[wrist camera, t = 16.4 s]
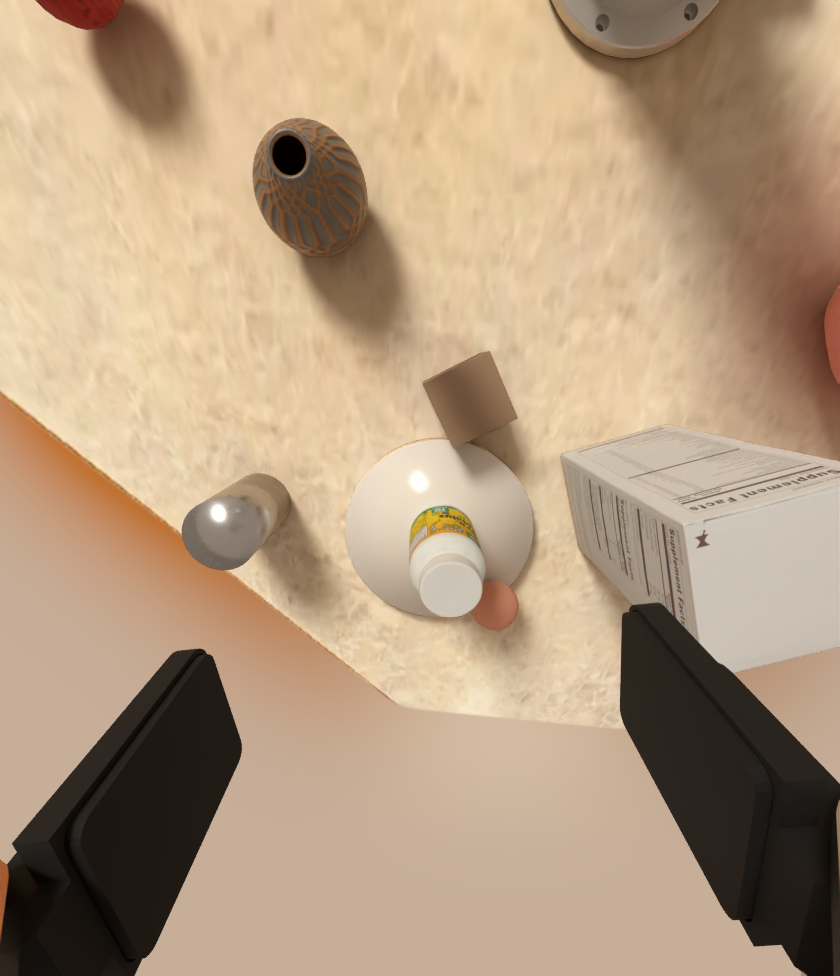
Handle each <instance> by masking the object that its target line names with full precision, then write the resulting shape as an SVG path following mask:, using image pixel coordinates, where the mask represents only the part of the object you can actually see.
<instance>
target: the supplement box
mask: <svg viewBox="0 0 840 976" xmlns="http://www.w3.org/2000/svg"><path fill="white" fill-rule="evenodd" d="M560 457H561V463H562V468H563V473H564V478H565V483H566V488H567V493H568V498H569V503H570V508H571V513H572V518H573V523H574V528H575V533H576V538H577V543H578V547H579V549H580V550H581V551H582V552H583V553H584V554H585V555H586V556H587V557H588V558H589V559H590V561H591V562H592V563H593V564H594V565H595V566H596V567H597V568H598V569H599V570H600V571H601V572H602V573H603V574H604V575H605V576H606V578H607V579H608V580H609V581H610V582H611V583H612V584H613V585H614V586H615V587H616V588H617V589H618V590H619V591H620V592H621V594H622V595H623V596H624V597H625V598H626V599H627V600H628V601H629V602H630V603H631V604H632V605H637V604H646V603H656V602H658V603H661V604H662V605H664V606H665V607H666V608H667V609H668V610H669V612H670V613H671V614H672V615H673V616H674V617H675V618H676V619H677V620H678V621H679V622H680V623H681V624H682V625H683V626H684V627H685V628H686V629H687V630H688V632H689V633H690V634H691V635H692V636H693V637H694V638H695V639H696V640H697V641H698V642H699V643H700V644H701V645H702V646H703V647H704V648H705V649H706V650H707V652H708V653H709V654H710V655H711V656H712V657H713V658H714V659H715V660H716V661H717V662H718V663H720V664H723V665H724V666H725V667H727V668H728V669H729V670H730V671H731V672H732V673H736V672H741V671H744V670H748V669H753V668H757V667H761V666H764V665H769V664H773V663H777V662H781V661H785V660H789V659H794V658H798V657H801V656H806V655H810V654H814V653H818V652H822V651H825V650H830V649H834V648H838V647H840V461H835V460H831V459H826V458H821V457H817V456H812V455H807V454H803V453H798V452H793V451H788V450H784V449H778V448H773V447H768V446H763V445H757V444H753V443H748V442H745V441H741V440H737V439H733V438H728V437H724V436H719V435H715V434H710V433H705V432H700V431H696V430H691V429H686V428H682V427H677V426H673V425H668V424H666V425H661V426H658V427H654V428H650V429H647V430H643V431H640V432H636V433H633V434H629V435H626V436H622V437H619V438H616V439H612V440H609V441H605V442H602V443H598V444H595V445H591V446H588V447H584V448H581V449H577V450H573V451H570V452H567V453H564V454H561V456H560Z"/></svg>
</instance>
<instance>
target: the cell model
mask: <svg viewBox="0 0 840 976" xmlns="http://www.w3.org/2000/svg"><path fill="white" fill-rule="evenodd" d="M824 330H825V340H826V346H827V352H828V357H829V363H830V367H831V370H832V373H833V375H834V377H835V379H836V381H837V382H838V383H839V385H840V283H839V285H838V286H837V288H836V290H835V291H834V293H833V294H832V296H831V298H830V301H829V303H828V306H827V308H826V311H825V317H824Z"/></svg>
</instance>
